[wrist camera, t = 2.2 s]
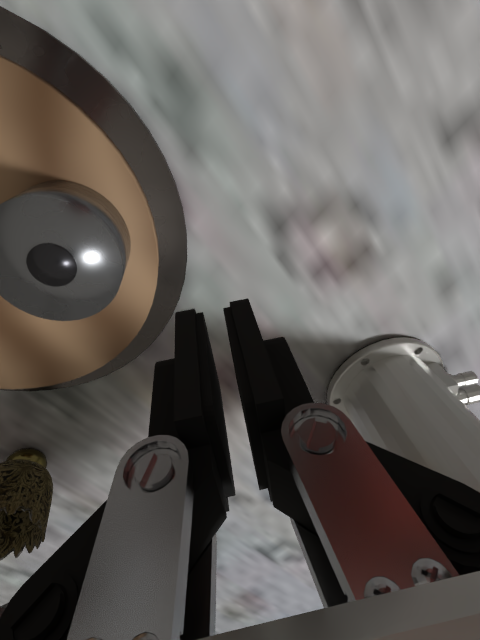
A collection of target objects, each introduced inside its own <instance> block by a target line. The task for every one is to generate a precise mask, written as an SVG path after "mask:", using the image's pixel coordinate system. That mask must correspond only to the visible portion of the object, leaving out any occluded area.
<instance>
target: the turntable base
mask: <svg viewBox="0 0 480 640" xmlns="http://www.w3.org/2000/svg"><path fill="white" fill-rule="evenodd" d="M0 55H1V56H3V57H5V58H7V59H9V60H11V61H13V62H15V63H17V64H19V65H21V66H23V67H25V68H27V69H29V70H30V71H32V72H33V73H35V74H36V75H38V76H39V77H41V78H43V79H44V80H46V81H47V82H49V83H50V84H52V85H53V86H55V87H56V88H58V89H59V90H60V91H61V92H63V93H64V94H65V95H66V96H67V97H69V98H70V99H71V100H72V101H74V102H75V103H76V104H77V105H79V106H80V107H81V108H82V109H83V110H84V111H85V112H86V113H87V114H88V115H89V116H90V117H91V118H92V119H93V120H94V121H95V122H96V123H97V124H98V125H99V126H100V127H101V128H102V129H103V130H104V131H105V133H106V134H107V135H108V136H109V138H110V139H111V140H112V141H113V143H114V144H115V145H116V146H117V148H118V149H119V150H120V151H121V153H122V154H123V156H124V157H125V159H126V161H127V162H128V164H129V165H130V167H131V168H132V170H133V172H134V173H135V175H136V177H137V179H138V181H139V183H140V185H141V187H142V189H143V191H144V193H145V195H146V198H147V201H148V204H149V206H150V209H151V212H152V215H153V218H154V223H155V228H156V233H157V238H158V250H159V266H158V278H157V286H156V290H155V295H154V299H153V304H152V306H151V309H150V311H149V314H148V316H147V319H146V321H145V322H144V324H143V326H142V327H141V329H140V331H139V332H138V334H137V335H136V336H135V338H134V339H133V340H132V341H131V342H130V344H129V345H128V346H127V347H126V348H125V349H124V350H123V351H122V352H121V353H120V354H118V355H117V356H116V357H115V358H114V359H112V360H111V361H109V362H108V363H106V364H105V365H103V366H102V367H100V368H98V369H96V370H94V371H93V372H91V373H89V374H87V375H84V376H81V377H79V378H76V379H73V380H71V381H67V382H63V383H59V384H55V385H51V386H44V387H38V388H27V389H0V390H10V391H38V390H51V389H58V388H65V387H70V386H74V385H78V384H82V383H86V382H89V381H92V380H95V379H97V378H100V377H103V376H105V375H107V374H109V373H111V372H113V371H115V370H117V369H119V368H121V367H123V366H124V365H126V364H127V363H129V362H130V361H132V360H133V359H135V358H136V357H138V356H139V355H140V354H141V353H142V352H143V351H144V350H145V349H146V348H148V347H149V346H150V345H151V344H152V343H153V341H154V340H155V339H156V338H157V337H158V336H159V334H160V333H161V332H162V331H163V329H164V327H165V326H166V324H167V323H168V321H169V319H170V318H171V316H172V314H173V312H174V310H175V307H176V305H177V303H178V301H179V298H180V294H181V291H182V287H183V283H184V280H185V272H186V264H187V234H186V225H185V219H184V213H183V207H182V203H181V200H180V196H179V193H178V190H177V186H176V183H175V180H174V178H173V176H172V173H171V171H170V169H169V166H168V164H167V162H166V159H165V157H164V155H163V154H162V152H161V150H160V148H159V147H158V145H157V143H156V141H155V140H154V138H153V136H152V134H151V133H150V131H149V129H148V128H147V127H146V125H145V124H144V123H143V121H142V120H141V119H140V117H139V116H138V114H137V113H136V112H135V110H134V109H133V108H132V106H131V105H130V104H129V103H128V102H127V100H126V99H125V98H124V97H123V96H122V95H121V94H120V93H119V92H118V91H117V89H116V88H115V87H114V86H113V85H112V84H111V83H110V82H109V81H108V80H107V79H106V78H105V77H104V76H103V75H102V74H101V73H100V72H98V71H97V70H96V69H95V68H94V67H93V66H92V65H91V64H89V63H88V62H87V61H86V60H85V59H84V58H83V57H81V56H80V55H79V54H78V53H76V52H75V51H74V50H72V49H71V48H69V47H68V46H66V45H65V44H64V43H62V42H61V41H59V40H58V39H57V38H55V37H54V36H52V35H51V34H49V33H48V32H46V31H45V30H43V29H41V28H39V27H37V26H36V25H34V24H32V23H30V22H28V21H26V20H25V19H23V18H21V17H19V16H17V15H15V14H14V13H12V12H10V11H8V10H6V9H4V8H3V7H0Z"/></svg>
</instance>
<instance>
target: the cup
mask: <svg viewBox="0 0 480 640" xmlns="http://www.w3.org/2000/svg"><path fill="white" fill-rule="evenodd" d="M46 466H47V460H46V457H45V455H44V454H43V453H41V452H40V451H38V450H35V449H20V450H17V451H15V452H14V453H12V454H11V455H10V456H9V457H8V458H7V460H6V461H5V462H3V463H0V560H2V559H4V558H5V557H6V556H7V555H8V554H10V553H11V552H12V551H14V556H15V558H17V557H18V556H19V555H20V554H21V553H22V551H23V548H24V547H25V546H26V548H27V551H28V553H31V552H32V550H33V548H34V546H36V548H37V549H38V548H39V546H40V544H41V541H42V542H44V539H45V532H46V527H47V522H48V517H49V512H50V506H51V501H52V493H53V483H52V478H51V476H50V474H49V472H48V471H47V469H46Z"/></svg>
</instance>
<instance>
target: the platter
mask: <svg viewBox="0 0 480 640" xmlns="http://www.w3.org/2000/svg"><path fill="white" fill-rule="evenodd" d="M53 180H64V181H71V182H75V183H79V184H82V185H85V186H87V187H89V188H91V189H93V190H95V191H97V192H98V193H100V194H101V195H103V196H104V197H105V198H106V199H108V200H109V201H110V202H111V203H112V204H113V205H114V206H115V207H116V209H117V210H118V211H119V213H120V214H121V215H122V217H123V219H124V221H125V223H126V225H127V228H128V231H129V235H130V241H131V251H130V257H129V260H128V263H127V266H126V269H125V272H124V275H123V278H122V281H121V284H120V287H119V290H118V292H117V294H116V296H115V298H114V299H113V300H112V302H111V303H110V304H109V305H108V306H107V307H106V308H104V309H103V310H101V311H100V312H98V313H96V314H95V315H92V316H90V317H87V318H84V319H80V320H73V321H55V320H48V319H43V318H40V317H36V316H34V315H31V314H28V313H26V312H24V311H22V310H20V309H18V308H17V307H15V306H13V305H12V304H10V303H9V302H8V301H6V300H5V299H4V298H3V297H1V296H0V389H27V388H38V387H44V386H51V385H55V384H59V383H63V382H67V381H71V380H73V379H76V378H79V377H81V376H84V375H87V374H89V373H91V372H93V371H94V370H96V369H98V368H100V367H102V366H103V365H105V364H106V363H108V362H109V361H111V360H112V359H114V358H115V357H116V356H117V355H118V354H120V353H121V352H122V351H123V350H124V349H125V348H126V347H127V346H128V345H129V344H130V342H131V341H132V340H133V339H134V338H135V336H136V335H137V334H138V332H139V331H140V329H141V327H142V326H143V324H144V322H145V321H146V319H147V316H148V314H149V311H150V309H151V306H152V304H153V299H154V295H155V290H156V286H157V278H158V266H159V250H158V238H157V233H156V228H155V223H154V218H153V215H152V212H151V209H150V206H149V204H148V201H147V198H146V195H145V193H144V191H143V189H142V187H141V185H140V183H139V181H138V179H137V177H136V175H135V173H134V172H133V170H132V168H131V167H130V165H129V164H128V162H127V161H126V159H125V157H124V156H123V154H122V153H121V151H120V150H119V149H118V148H117V146H116V145H115V144H114V143H113V141H112V140H111V139H110V138H109V136H108V135H107V134H106V133H105V131H104V130H103V129H102V128H101V127H100V126H99V125H98V124H97V123H96V122H95V121H94V120H93V119H92V118H91V117H90V116H89V115H88V114H87V113H86V112H85V111H84V110H83V109H82V108H81V107H80V106H79V105H77V104H76V103H75V102H74V101H72V100H71V99H70V98H69V97H67V96H66V95H65V94H64V93H63V92H61V91H60V90H59V89H58V88H56V87H55V86H53V85H52V84H50V83H49V82H47V81H46V80H44V79H43V78H41V77H39V76H38V75H36V74H35V73H33V72H32V71H30V70H29V69H27V68H25V67H23V66H21V65H19V64H17V63H15V62H13V61H11V60H9V59H7V58H5V57H3V56H1V55H0V204H1V203H3V202H5V201H7V200H9V199H10V198H12V197H14V196H16V195H17V194H19V193H21V192H23V191H25V190H26V189H28V188H30V187H32V186H34V185H36V184H39V183H42V182H46V181H53Z"/></svg>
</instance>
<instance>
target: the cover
mask: <svg viewBox="0 0 480 640" xmlns="http://www.w3.org/2000/svg"><path fill="white" fill-rule="evenodd" d="M130 251H131V241H130V235H129V231H128V228H127V225H126V223H125V221H124V219H123V217H122V215H121V214H120V213H119V211H118V210H117V209H116V207H115V206H114V205H113V204H112V203H111V202H110V201H109V200H108V199H106V198H105V197H104V196H103V195H101V194H100V193H98V192H97V191H95V190H93V189H91V188H89V187H87V186H85V185H82V184H79V183H75V182H71V181H64V180H53V181H46V182H42V183H39V184H36V185H34V186H32V187H30V188H28V189H26V190H25V191H23V192H21V193H19V194H17V195H16V196H14V197H12V198H10V199H9V200H7V201H5V202H3V203H1V204H0V296H1V297H3V298H4V299H5V300H6V301H8V302H9V303H10V304H12V305H13V306H15V307H17V308H18V309H20V310H22V311H24V312H26V313H28V314H31V315H34V316H36V317H40V318H43V319H48V320H55V321H73V320H80V319H84V318H87V317H90V316H92V315H95V314H96V313H98V312H100V311H101V310H103V309H104V308H106V307H107V306H108V305H109V304H110V303H111V302H112V300H113V299H114V298H115V296H116V294H117V292H118V290H119V287H120V284H121V281H122V278H123V275H124V272H125V269H126V266H127V263H128V260H129V257H130Z"/></svg>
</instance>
